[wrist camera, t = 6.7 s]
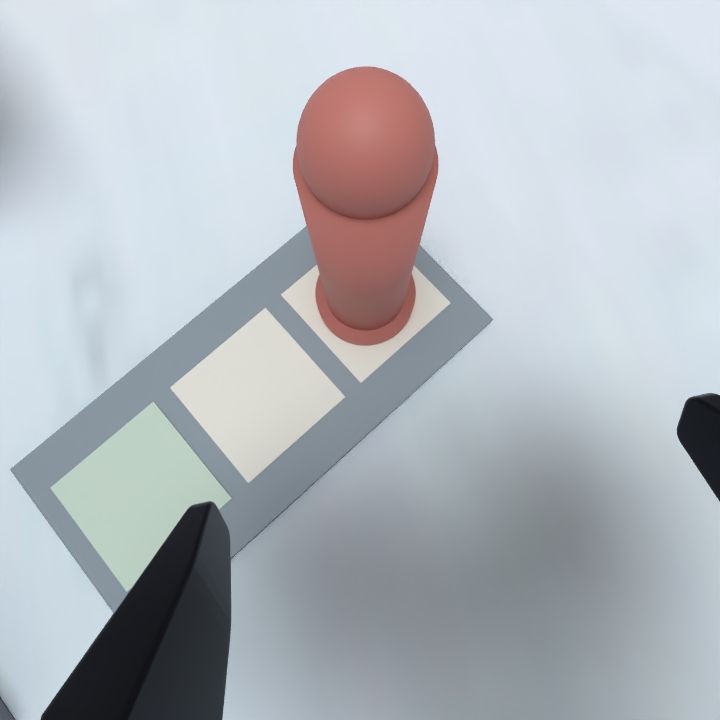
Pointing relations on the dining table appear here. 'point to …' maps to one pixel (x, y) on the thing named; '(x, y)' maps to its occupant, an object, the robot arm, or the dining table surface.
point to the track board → (233, 415)
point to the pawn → (365, 198)
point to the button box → (4, 712)
